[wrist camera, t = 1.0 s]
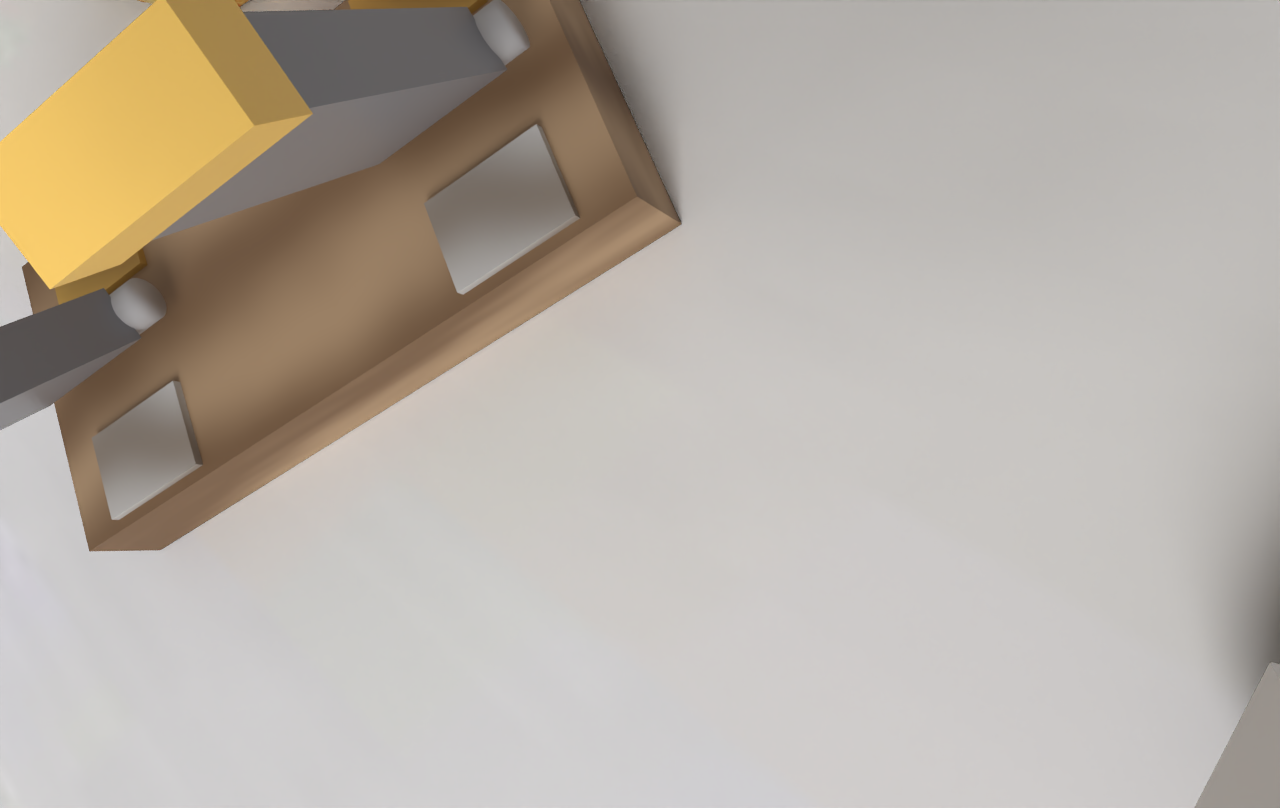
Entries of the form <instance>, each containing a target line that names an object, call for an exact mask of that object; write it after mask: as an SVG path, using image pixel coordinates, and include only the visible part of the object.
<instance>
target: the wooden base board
mask: <svg viewBox="0 0 1280 808" xmlns="http://www.w3.org/2000/svg"><path fill="white" fill-rule="evenodd" d="M491 1H493V0H345V1H344V2H343V3H341V4H340V5H339V6H338V7H337V8H335V9H334V10H352V9H396V8H439V7H467V8H468V9H469V11H470V12H471V14H472V15H474V14H476V13H477V12H478V11H480V10H481V9H482V8H483V7H485V6H486V5H487V4H489V3H490V2H491ZM501 1H502V2H504V3H505V4H506V5H507V6H508V7H509V8H510V9H511V10H512V12H513V13H514V14H515V15H516V17H517V18H518V20H519V21H520V23H521V24H522V26H523V28H524V29H525V31H526V33H527V36H528V38H529V42H530V47H529V48H528V49H527V50H525V51H524V52H523V53H521V54H520V55H519V56H517V57H516V58H515V59H513V60H512V61H511V62H509V63H508V64H506V65H505V66H506V68H507V70H506V71H505V72H503V73H502V74H501V75H499V76H498V77H497V78H495V79H494V80H493V81H491V82H490V83H488V84H487V85H486V86H484V87H483V88H482V89H480V90H479V91H478V92H476V93H475V94H474V95H472V96H471V97H469V98H468V99H467V100H465V101H464V102H463V103H461V104H460V105H459V106H457V107H456V108H455V109H453V110H452V111H451V112H449V113H448V114H446V115H445V116H444V117H442V118H441V119H440V120H438V121H437V122H436V123H434V124H433V125H432V126H430V127H429V128H428V129H426V130H425V131H423V132H422V133H421V134H419V135H418V136H417V137H415V138H414V139H413V140H411V141H410V142H409V143H407V144H406V145H404V146H403V147H402V148H400V149H399V150H398V151H396V152H395V153H394V154H392V155H391V156H390V157H388V158H387V159H386V160H384V161H383V162H381V163H380V164H378V165H375V166H372V167H369V168H366V169H363V170H360V171H357V172H354V173H352V174H349V175H346V176H343V177H340V178H337V179H334V180H331V181H328V182H325V183H322V184H319V185H316V186H313V187H310V188H307V189H304V190H301V191H298V192H295V193H292V194H289V195H286V196H283V197H280V198H277V199H274V200H271V201H268V202H265V203H262V204H259V205H256V206H253V207H250V208H247V209H244V210H241V211H238V212H235V213H232V214H229V215H226V216H223V217H220V218H217V219H214V220H211V221H208V222H205V223H202V224H199V225H196V226H193V227H190V228H187V229H185V230H182V231H179V232H176V233H173V234H170V235H167V236H164V237H161V238H158V239H155V240H152V241H150V242H149V243H148V244H146V245H145V246H144V247H143V248H141V249H140V250H139V251H137V252H136V253H135V254H134V255H132V256H131V257H130V258H129V259H127V260H126V261H125V262H123V263H122V264H121V265H118V266H115V267H112V268H109V269H107V270H104V271H101V272H98V273H95V274H92V275H90V276H87V277H84V278H81V279H78V280H75V281H73V282H70V283H67V284H64V285H61V286H58V287H56V288H53V289H49V288H48V286H47V285H46V284H45V283H44V281H43V280H42V279H41V277H40V276H39V275H38V273H37V272H36V271H35V270H34V268H33V267H32V266H31V264H30V263H29V262H28V263H26V264H25V265H24V266H23V267H22V269H23V273H24V278H25V282H26V286H27V290H28V294H29V299H30V303H31V307H32V311H33V314H36V313H39V312H41V311H44V310H47V309H49V308H52V307H54V306H57V305H60V304H62V303H65V302H68V301H70V300H73V299H76V298H78V297H81V296H84V295H86V294H89V293H92V292H94V291H97V290H100V289H102V288H104V289H105V290H106V291H107V293H108V294H109V295H110V294H111V293H113V292H114V291H115V290H116V289H118V288H119V287H120V286H122V285H123V284H124V283H125V282H127V281H128V280H130V279H132V278H139V279H143V280H145V281H147V282H149V283H151V284H152V285H153V286H154V287H156V288H157V289H158V291H159V292H160V293H161V294H162V296H163V298H164V300H165V302H166V308H167V310H166V314H165V316H164V317H163V318H161V319H160V320H159V321H157V322H156V323H155V324H153V325H152V326H151V327H149V328H148V329H146V330H145V331H144V332H142V333H141V334H140V336H141V337H142V338H141V339H139V340H138V341H137V342H135V343H134V344H133V345H131V346H130V347H129V348H127V349H126V350H125V351H123V352H122V353H120V354H119V355H118V356H116V357H115V358H114V359H112V360H111V361H110V362H108V363H107V364H106V365H104V366H103V367H102V368H100V369H99V370H97V371H96V372H95V373H93V374H92V375H91V376H89V377H88V378H87V379H85V380H84V381H83V382H81V383H80V384H79V385H77V386H76V387H74V388H73V389H72V390H70V391H69V392H68V393H66V394H65V395H64V396H62V397H61V398H60V399H58V400H57V401H56V402H54V404H55V408H56V413H57V417H58V421H59V425H60V429H61V434H62V438H63V442H64V446H65V450H66V455H67V459H68V463H69V467H70V472H71V476H72V480H73V484H74V488H75V493H76V497H77V501H78V505H79V509H80V514H81V518H82V522H83V526H84V531H85V535H86V539H87V543H88V547H89V551H134V550H161V549H163V548H165V547H166V546H168V545H169V544H171V543H173V542H174V541H176V540H177V539H179V538H181V537H182V536H184V535H185V534H187V533H189V532H190V531H192V530H193V529H195V528H197V527H198V526H200V525H201V524H203V523H205V522H206V521H208V520H209V519H211V518H213V517H214V516H216V515H217V514H219V513H221V512H222V511H224V510H225V509H227V508H229V507H230V506H232V505H233V504H235V503H236V502H238V501H240V500H241V499H243V498H244V497H246V496H248V495H249V494H251V493H252V492H254V491H256V490H257V489H259V488H260V487H262V486H264V485H265V484H267V483H268V482H270V481H272V480H273V479H275V478H276V477H278V476H280V475H281V474H283V473H284V472H286V471H288V470H289V469H291V468H292V467H294V466H296V465H297V464H299V463H300V462H302V461H304V460H305V459H307V458H308V457H310V456H312V455H313V454H315V453H316V452H318V451H320V450H321V449H323V448H324V447H326V446H328V445H329V444H331V443H332V442H334V441H336V440H337V439H339V438H340V437H342V436H344V435H345V434H347V433H348V432H350V431H352V430H353V429H355V428H356V427H358V426H360V425H361V424H363V423H364V422H366V421H368V420H369V419H371V418H372V417H374V416H376V415H377V414H379V413H380V412H382V411H384V410H385V409H387V408H388V407H390V406H392V405H393V404H395V403H396V402H398V401H400V400H401V399H403V398H404V397H406V396H408V395H409V394H411V393H412V392H414V391H416V390H417V389H419V388H420V387H422V386H424V385H425V384H427V383H428V382H430V381H432V380H433V379H435V378H436V377H438V376H440V375H441V374H443V373H444V372H446V371H448V370H449V369H451V368H452V367H454V366H456V365H457V364H459V363H460V362H462V361H464V360H465V359H467V358H468V357H470V356H472V355H473V354H475V353H476V352H478V351H480V350H481V349H483V348H484V347H486V346H488V345H489V344H491V343H492V342H494V341H496V340H497V339H499V338H500V337H502V336H504V335H505V334H507V333H508V332H510V331H512V330H513V329H515V328H516V327H518V326H520V325H521V324H523V323H524V322H526V321H528V320H529V319H531V318H532V317H534V316H536V315H537V314H539V313H540V312H542V311H544V310H545V309H547V308H548V307H550V306H552V305H553V304H555V303H556V302H558V301H560V300H561V299H563V298H564V297H566V296H568V295H569V294H571V293H572V292H574V291H576V290H577V289H579V288H580V287H582V286H584V285H585V284H587V283H588V282H590V281H592V280H593V279H595V278H596V277H598V276H600V275H601V274H603V273H604V272H606V271H608V270H609V269H611V268H612V267H614V266H616V265H617V264H619V263H620V262H622V261H624V260H625V259H627V258H628V257H630V256H632V255H633V254H635V253H636V252H638V251H639V250H641V249H643V248H644V247H646V246H647V245H649V244H651V243H652V242H654V241H655V240H657V239H659V238H660V237H662V236H663V235H665V234H667V233H668V232H670V231H671V230H673V229H675V228H676V227H678V226H679V225H681V222H680V220H679V217H678V215H677V213H676V211H675V209H674V206H673V204H672V202H671V200H670V198H669V196H668V193H667V191H666V189H665V187H664V185H663V182H662V180H661V178H660V176H659V174H658V171H657V169H656V167H655V165H654V163H653V161H652V158H651V156H650V154H649V152H648V150H647V147H646V145H645V143H644V141H643V139H642V136H641V134H640V132H639V130H638V128H637V126H636V123H635V121H634V119H633V117H632V115H631V112H630V110H629V108H628V106H627V104H626V101H625V99H624V97H623V95H622V93H621V91H620V88H619V86H618V84H617V82H616V80H615V77H614V75H613V73H612V71H611V69H610V66H609V64H608V62H607V60H606V58H605V56H604V53H603V51H602V49H601V47H600V45H599V42H598V40H597V38H596V36H595V34H594V31H593V29H592V27H591V25H590V23H589V21H588V18H587V16H586V14H585V12H584V10H583V7H582V5H581V3H580V1H579V0H501Z"/></svg>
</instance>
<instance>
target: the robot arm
mask: <svg viewBox="0 0 1280 808" xmlns="http://www.w3.org/2000/svg"><path fill="white" fill-rule="evenodd" d="M1195 808H1280V664H1277V663H1272V662H1270V663H1269V665H1268V667H1267V669H1266V671H1265V672H1264V674H1263V676H1262V678H1261V680H1260V682H1259V684H1258V686H1257V688H1256V690H1255V692H1254V694H1253V696H1252V698H1251V699H1250V701H1249V703H1248V705H1247V707H1246V709H1245V711H1244V713H1243V715H1242V717H1241V719H1240V721H1239V723H1238V725H1237V727H1236V728H1235V730H1234V732H1233V734H1232V736H1231V738H1230V740H1229V742H1228V744H1227V746H1226V748H1225V750H1224V752H1223V754H1222V755H1221V757H1220V759H1219V761H1218V763H1217V765H1216V767H1215V769H1214V771H1213V773H1212V775H1211V777H1210V779H1209V781H1208V782H1207V784H1206V786H1205V788H1204V790H1203V792H1202V794H1201V796H1200V798H1199V800H1198V802H1197V804H1196V806H1195Z"/></svg>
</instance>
